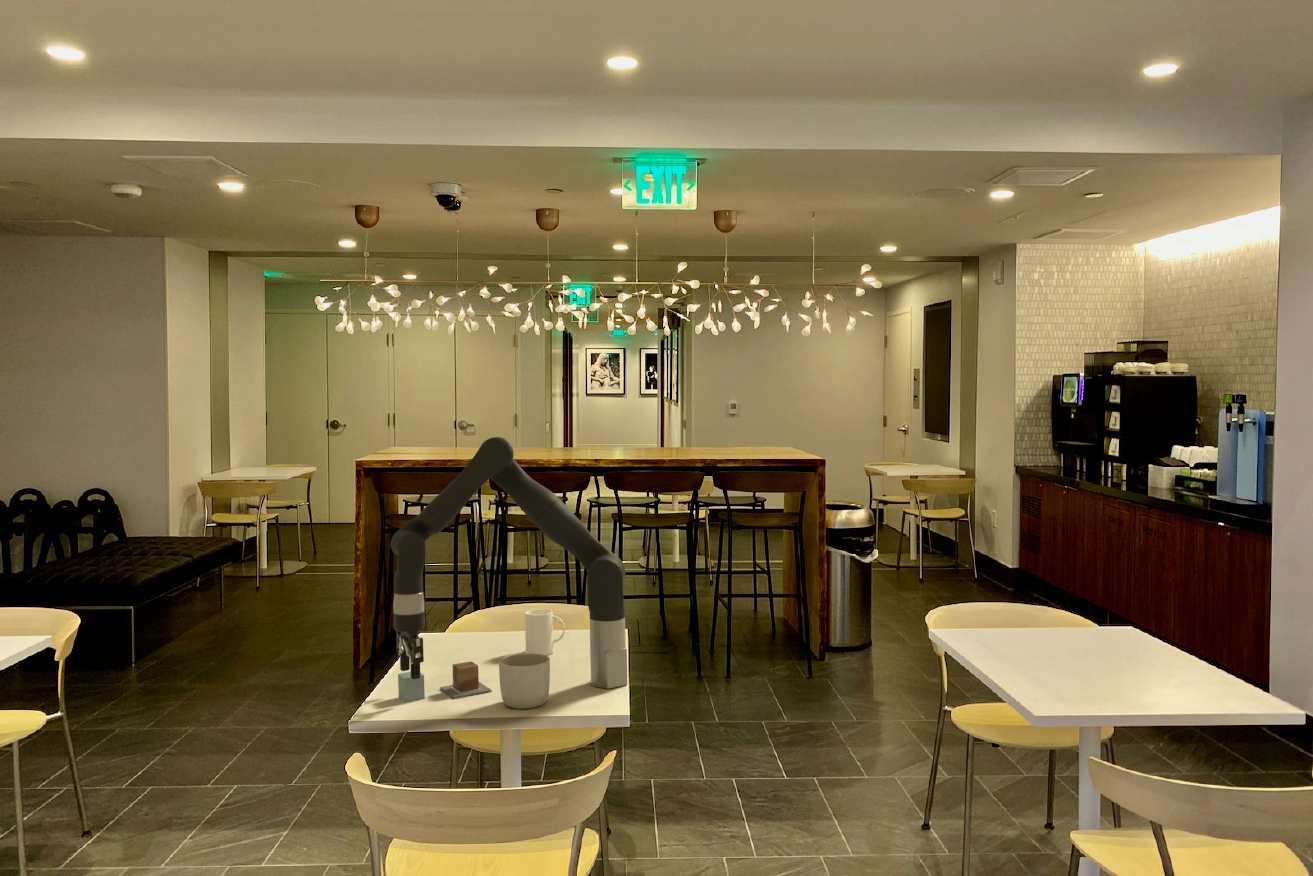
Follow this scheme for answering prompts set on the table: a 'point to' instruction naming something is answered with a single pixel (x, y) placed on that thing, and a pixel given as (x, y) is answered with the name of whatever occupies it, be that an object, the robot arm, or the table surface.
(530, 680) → the planter
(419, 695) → the blue grey block
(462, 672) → the walnut block
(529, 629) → the mug
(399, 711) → the table surface
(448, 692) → the pad
